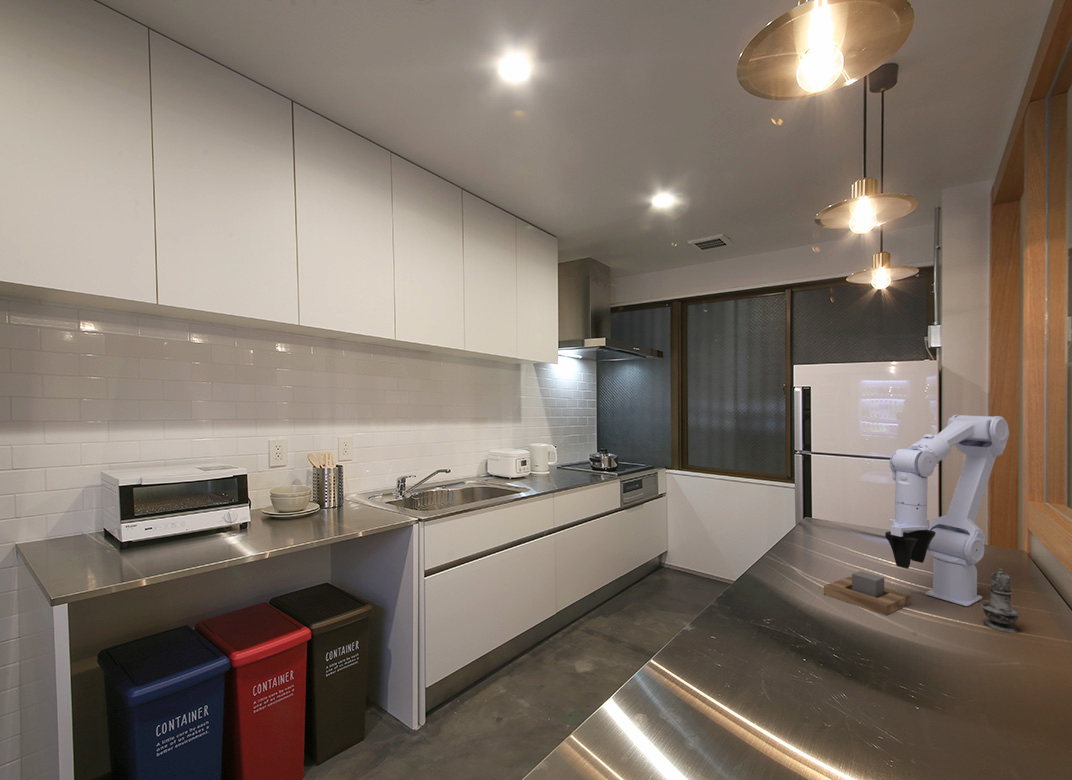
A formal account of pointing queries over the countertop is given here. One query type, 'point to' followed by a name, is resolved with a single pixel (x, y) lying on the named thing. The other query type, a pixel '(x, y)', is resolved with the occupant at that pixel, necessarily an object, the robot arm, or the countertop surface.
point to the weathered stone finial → (1000, 604)
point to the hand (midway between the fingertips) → (910, 564)
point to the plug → (868, 584)
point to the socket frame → (868, 597)
